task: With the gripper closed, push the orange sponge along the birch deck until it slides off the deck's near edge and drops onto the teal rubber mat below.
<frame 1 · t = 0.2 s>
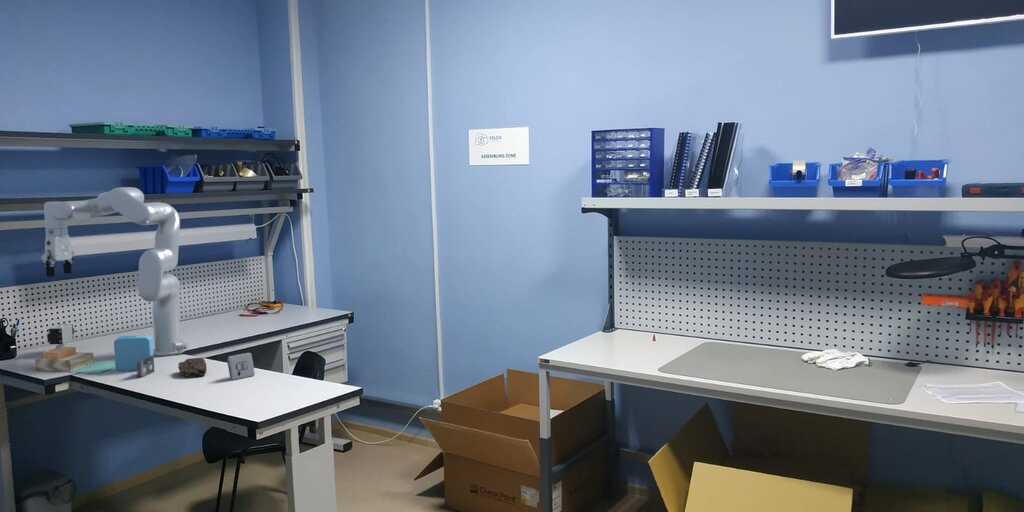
hand: (59, 274, 295), 31 cm above the workbench, tool pointing down, fingers open, 9 cm apart
deck: (65, 366, 271), on the workbench
data package: (135, 369, 268), on the workbench
electrical switch: (240, 377, 256), on the workbench
mini dv tape: (146, 375, 260), on the workbench
orange sponge: (59, 355, 271), point 4 cm above the workbench, touching deck
brown rock: (193, 374, 260), on the workbench
mat: (98, 367, 269), on the workbench
pneumatic valve: (61, 353, 292), on the workbench
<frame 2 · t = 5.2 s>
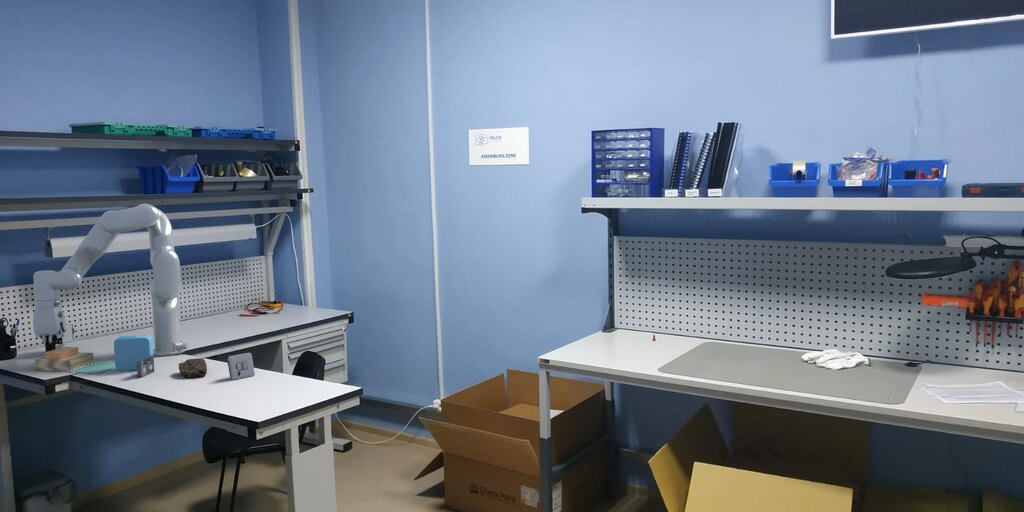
hand: (50, 352, 271), 5 cm above the workbench, tool pointing down, fingers closed
orange sponge: (62, 356, 271), point 4 cm above the workbench
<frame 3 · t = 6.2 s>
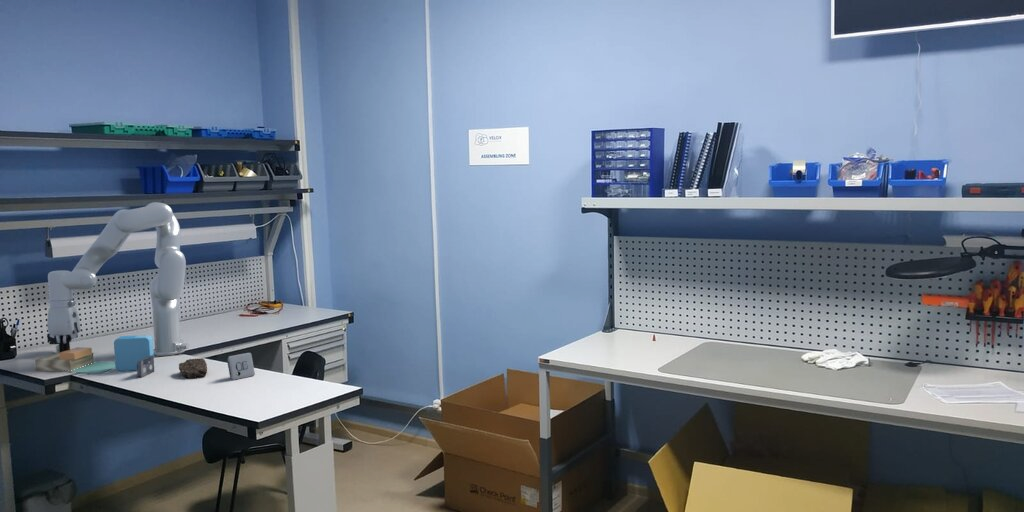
hand: (64, 353, 271), 5 cm above the workbench, tool pointing down, fingers closed
orange sponge: (76, 356, 270), point 4 cm above the workbench, touching deck, gripper
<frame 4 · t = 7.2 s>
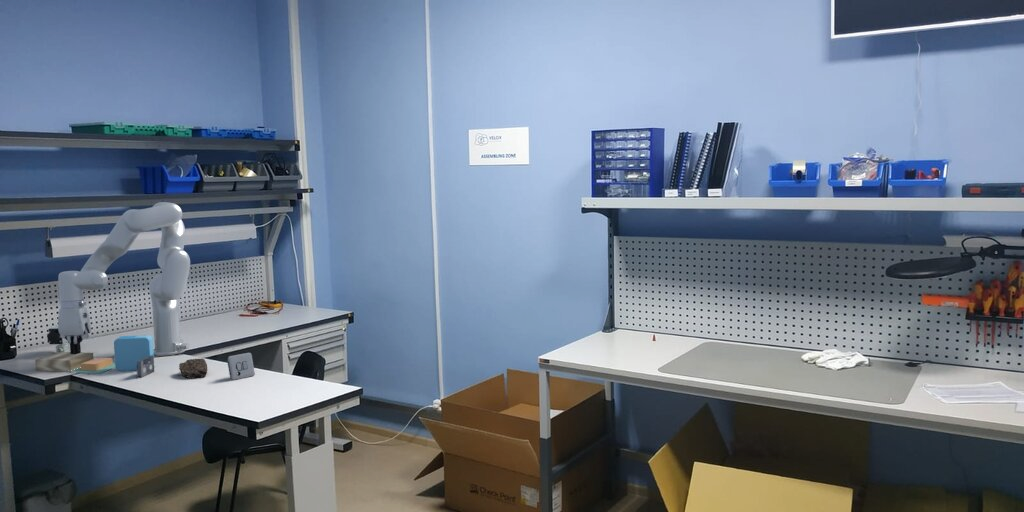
hand: (75, 353, 270), 5 cm above the workbench, tool pointing down, fingers closed
orange sponge: (96, 360, 269), point 3 cm above the workbench, tilted 180°, touching mat
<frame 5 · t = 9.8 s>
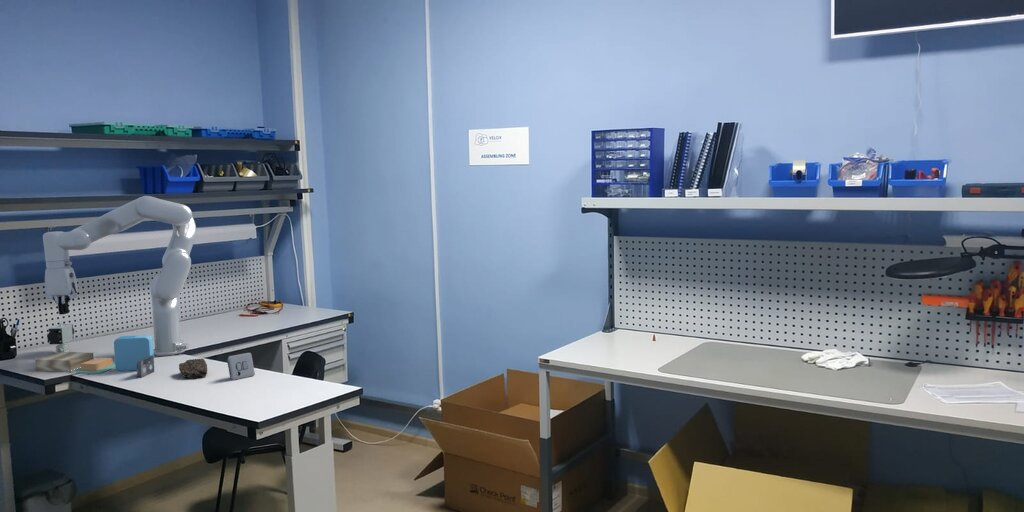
hand: (64, 313, 272), 19 cm above the workbench, tool pointing down, fingers closed
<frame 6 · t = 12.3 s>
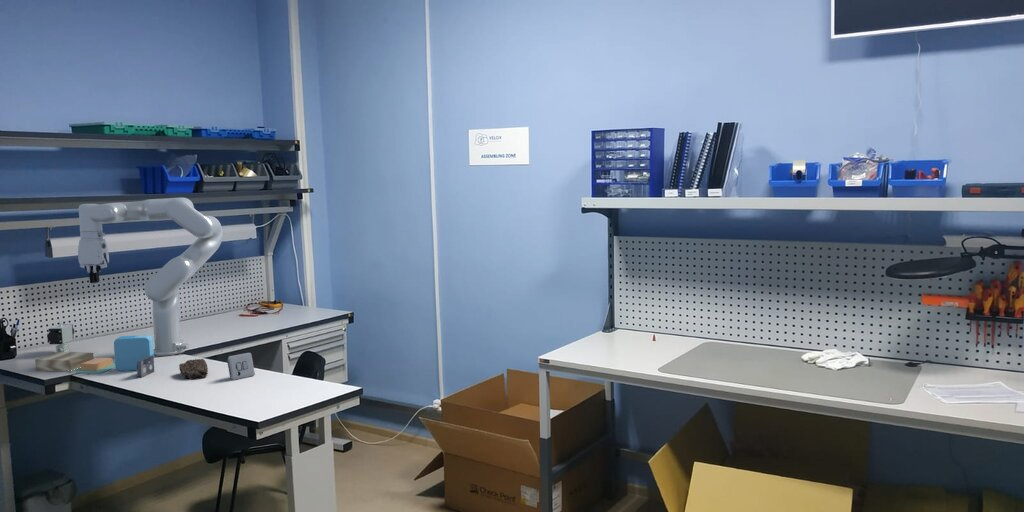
hand: (94, 282, 285), 29 cm above the workbench, tool pointing down, fingers closed
at the end: orange sponge point 2.7 cm above the workbench; orange sponge inside the target area (0.8 cm from its centre), point 2.7 cm above the workbench; orange sponge moved 15.2 cm from its start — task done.
